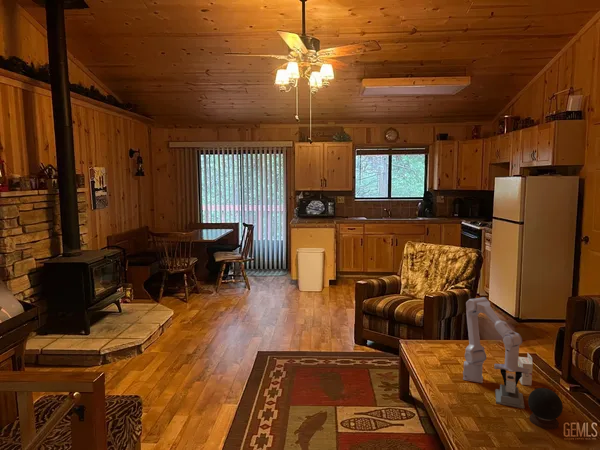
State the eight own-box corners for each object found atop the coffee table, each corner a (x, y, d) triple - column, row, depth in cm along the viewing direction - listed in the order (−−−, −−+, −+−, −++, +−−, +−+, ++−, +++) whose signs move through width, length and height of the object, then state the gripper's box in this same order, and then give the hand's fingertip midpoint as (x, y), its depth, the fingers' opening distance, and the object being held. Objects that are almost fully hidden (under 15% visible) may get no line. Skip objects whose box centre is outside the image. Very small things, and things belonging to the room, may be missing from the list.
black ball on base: (547, 433, 178) (549, 400, 176) (520, 417, 190) (522, 385, 188) (568, 426, 183) (570, 393, 181) (540, 411, 195) (542, 380, 193)
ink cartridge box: (516, 377, 228) (518, 351, 226) (526, 378, 227) (528, 351, 225) (521, 384, 219) (523, 357, 218) (531, 385, 219) (533, 358, 217)
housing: (505, 383, 210) (505, 372, 209) (514, 384, 208) (514, 373, 207) (505, 391, 201) (506, 380, 201) (515, 393, 200) (515, 381, 199)
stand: (495, 403, 202) (496, 394, 201) (495, 390, 214) (495, 382, 213) (524, 408, 197) (524, 400, 197) (522, 395, 209) (522, 387, 208)
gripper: (495, 359, 202) (493, 386, 204) (529, 364, 196) (527, 392, 198) (494, 353, 209) (493, 379, 210) (528, 358, 203) (526, 385, 204)
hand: (510, 385), depth 205 cm, fingers closed on housing, 4 cm apart
